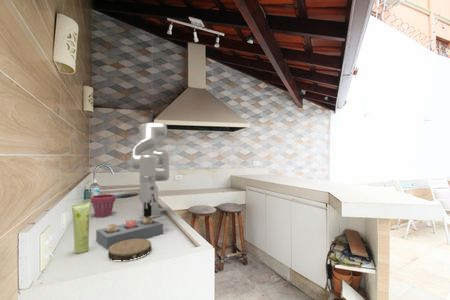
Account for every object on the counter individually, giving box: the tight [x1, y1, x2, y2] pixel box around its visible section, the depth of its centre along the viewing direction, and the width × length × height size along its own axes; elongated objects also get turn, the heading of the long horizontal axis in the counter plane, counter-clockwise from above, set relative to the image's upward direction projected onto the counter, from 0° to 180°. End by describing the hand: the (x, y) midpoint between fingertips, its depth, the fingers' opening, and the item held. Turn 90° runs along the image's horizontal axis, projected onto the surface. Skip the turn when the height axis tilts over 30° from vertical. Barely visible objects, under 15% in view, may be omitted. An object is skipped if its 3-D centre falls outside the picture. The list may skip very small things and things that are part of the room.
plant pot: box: [90, 193, 116, 218], centre depth 152 cm, size 14×14×13 cm
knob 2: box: [142, 217, 153, 225], centre depth 117 cm, size 4×4×4 cm
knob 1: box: [106, 223, 119, 234], centre depth 105 cm, size 4×4×4 cm
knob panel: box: [95, 219, 164, 250], centre depth 111 cm, size 26×14×5 cm, turn 135°
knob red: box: [125, 219, 137, 229], centre depth 111 cm, size 4×4×4 cm
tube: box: [71, 201, 91, 254], centre depth 95 cm, size 6×5×20 cm
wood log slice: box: [107, 239, 152, 261], centre depth 93 cm, size 16×16×3 cm
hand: (147, 216), depth 117 cm, fingers closed
